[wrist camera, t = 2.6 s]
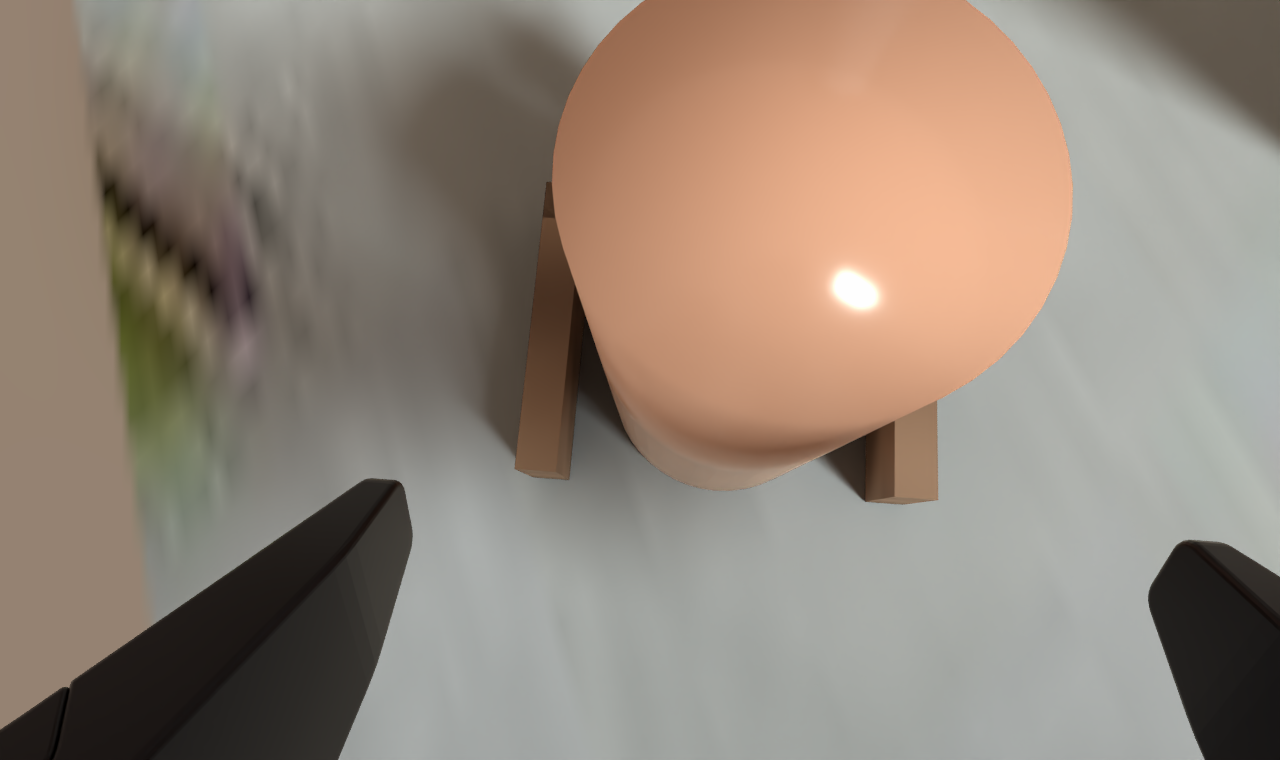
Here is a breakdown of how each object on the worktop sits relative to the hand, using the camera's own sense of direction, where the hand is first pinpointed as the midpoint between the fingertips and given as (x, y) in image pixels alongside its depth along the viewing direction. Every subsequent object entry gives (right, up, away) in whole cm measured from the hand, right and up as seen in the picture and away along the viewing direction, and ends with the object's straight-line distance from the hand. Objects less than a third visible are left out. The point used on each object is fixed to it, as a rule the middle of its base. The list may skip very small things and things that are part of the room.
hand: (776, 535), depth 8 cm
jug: (+1, +3, +12) cm, 12 cm away
